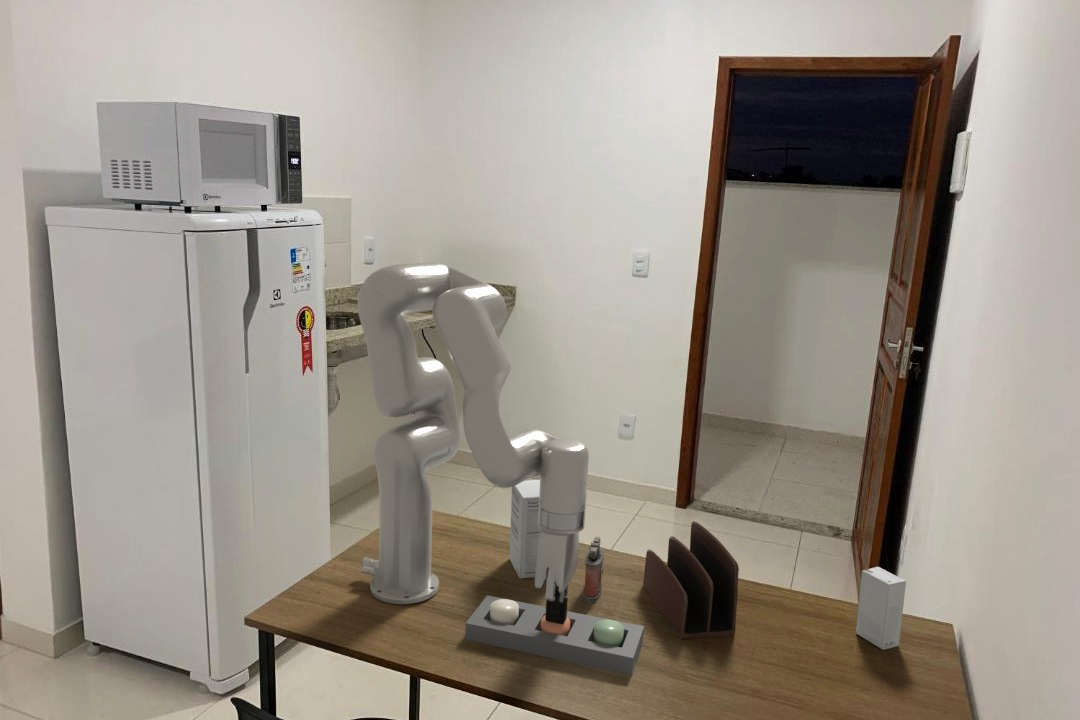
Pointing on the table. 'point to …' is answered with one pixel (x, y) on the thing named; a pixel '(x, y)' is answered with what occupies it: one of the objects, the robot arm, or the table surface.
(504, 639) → the button panel
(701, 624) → the letter holder
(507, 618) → the cream button
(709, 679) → the table surface
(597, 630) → the sage button
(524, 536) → the supplement box
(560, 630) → the terracotta button
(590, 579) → the lighter
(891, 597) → the skincare box
